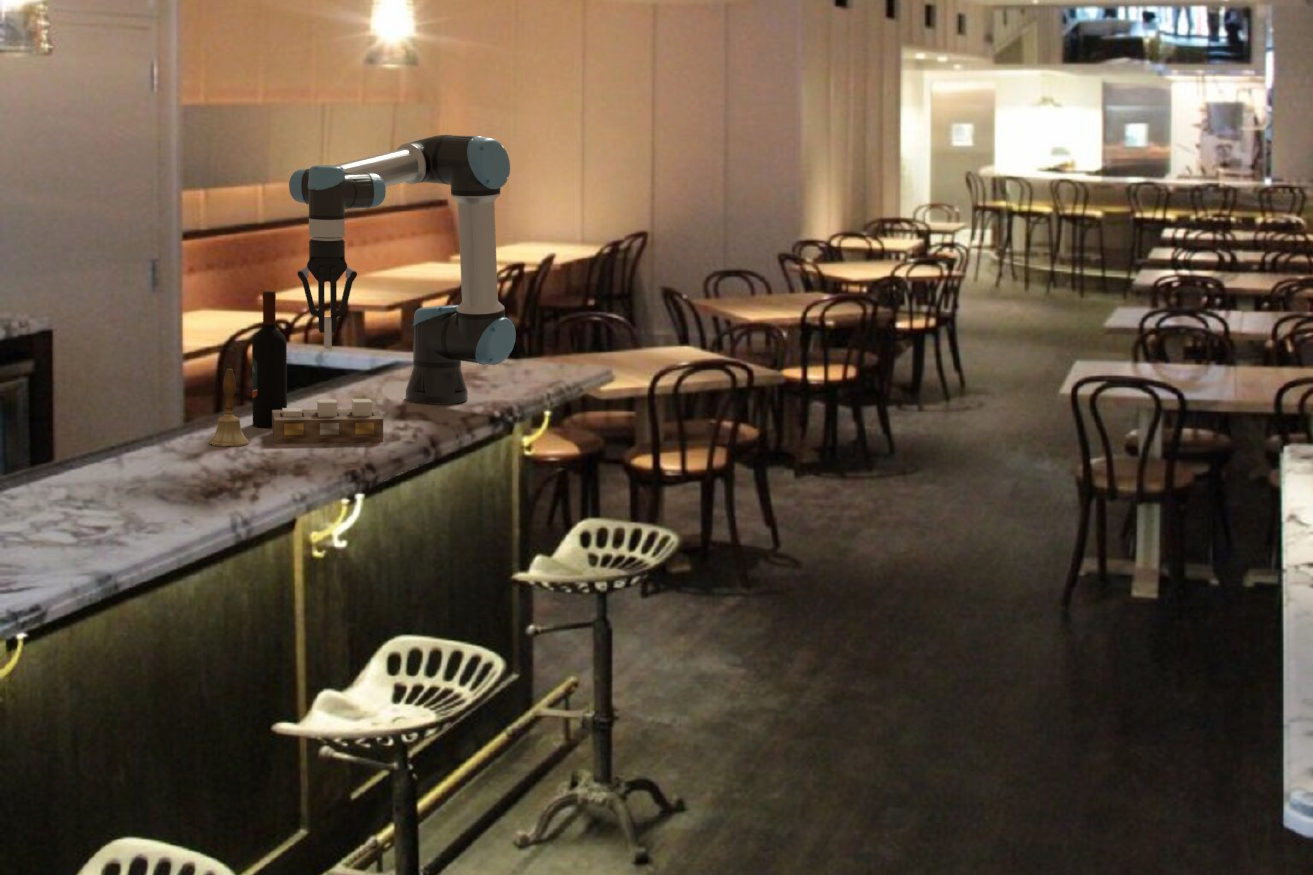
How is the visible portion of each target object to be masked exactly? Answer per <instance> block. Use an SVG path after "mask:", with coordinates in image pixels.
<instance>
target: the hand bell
mask: <svg viewBox="0 0 1313 875" xmlns="http://www.w3.org/2000/svg"><path fill="white" fill-rule="evenodd" d="M222 387H223V393H224V394H223V395H224V397H225V404H224V405H225V406H224V415H222V416H221V417H218V419H217V426H216V427H217V428H216V430H215V433H214V435H213V436H212V437H211V438H210V439H209V441H208V444H209V443H210V445H211V444H212V446H215V445H217V446H216V447H226V446H231V447H242V446H246V445H249V444H250V441H249V439H248V438H247V437H246V435H244V433H243V430H242V427H241V420H240V418H239V417H237V416H236V415H234V396H235V392H236V376H235V374H234V370H233V368H226V370H225V374H224V377H223V380H222Z"/></svg>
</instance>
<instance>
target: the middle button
mask: <svg viewBox="0 0 1313 875" xmlns="http://www.w3.org/2000/svg"><path fill="white" fill-rule="evenodd" d="M316 403H317V404H316V408H317V409H316V410H317V417H335V416H337V409H338V400H337V399H336V398H330V399H329V398H327V399H323V398H321V399H317V400H316Z"/></svg>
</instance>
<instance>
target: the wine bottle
mask: <svg viewBox="0 0 1313 875" xmlns="http://www.w3.org/2000/svg"><path fill="white" fill-rule="evenodd" d="M276 299H277V296H276V291H275V290H274V291H272V290H265V291H262V326H261V328H260V330H258V331H257V332H256V333H255V334H254V335H253V337H252V339H251V340H252V341H251V348H252V349H251V352H252V354H251V357H252V359H251V360H252V361H251V362H252V363H251V367H252V372H251V373H252V374H251V375H252V376H251V377H252V378H251V381H252V384H251V385H252V386H251V387H252V426H253V427H255V428H259V429H260V428H261V429H272V410H282V408H288V397H287V394H288V392H287V391H288V386H287V384H288V379H287V378H288V373H287V372H288V371H287V364H288V362H287V361H288V360H287V359H288V358H287V357H288V355H287V354H288V352H287V351H288V348H287V346H288V343H287V338H286V336H285V334H283V333H282V332H281V331H280V330H279V329H278V328H277V324H276V322H277V321H276V320H277V319H276V310H277V309H276Z"/></svg>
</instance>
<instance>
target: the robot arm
mask: <svg viewBox="0 0 1313 875" xmlns="http://www.w3.org/2000/svg"><path fill="white" fill-rule="evenodd" d="M510 173H511V163H510V157H509V154H508V153H507V150H506V148H505V147H504V145H502V144H501V142H500V141H498V140H497V139H494V138H491V137H485V136H483V135H482V136H478V135H456V134H455V135H454V134H453V135H452V134H441V135H435V136H434V135H433V136H430V137H426V138H422V139H418V140H414V141H411V142H407V143H404V144H401V145H400V146H398V148H397V149H396V150H392V151H388V152H384V153H380V154H376V155H372V156H367V157H363V158H359V159H358V158H357V159H356V160H355V159H354V160H351V161H350V160H349V161H347V162H343V163H339V164H334V165H332V164H331V165H329V164H328V165H327V164H326V165H325V164H324V165H321V164H319V165H312V166H311V167H310V168H305V169H304V168H301V169H296V170H295V171H294V172H293V173H292V174H291V176H290V178H289V181H288V189H289V194H290V196H291V197H292V199H293V200H294V201H295V202H297V203H302V204H305V205H308V236H309V237H310V238H311V239H309V240H308V248H309V249H308V261H307V263H306V266H305V267H304V268H302V269H301V270H300V269H299V270H297V272H296V275H297V277H298V278H299V279H300V281H301V282H302V286H303V290H304V294H305V298H306V302H307V306H308V309H309V313H310V315H311V316H314V317H317V318H318V331H319V333H320V334H321V333H323V347H324V349H325V350H326V349H327V350H328V349H330V350H331V349H332V347H333V346H332V345H333V344H332V338H333V337H332V334H334V333H337V330H338V328H337V327H338V324H337V323H338V322H337V321H338V318H339V317H341V316H344V315H345V314H346V311H347V307H348V304H349V303H348V302H349V299H350V296H351V295H350V294H351V290H352V287H353V282H354V281H355V280H356V278H357V276H358V272H357V271H356V270H355V269H352V268H350V267H349V266H348V263H347V261H346V248H345V247H346V244H345V243H346V242H345V240H344V239H343V238H344V237H345V234H346V233H345V231H346V230H345V229H346V228H345V225H346V224H345V220H346V219H345V216H346V215H345V213H346V212H345V211H346V210H349V209H350V210H351V209H370V208H374V207H378V206H381V204H382V203H383V202H384V201H385V198H386V194H387V191H386V189H387V188H388V187H391V186H395V185H398V184H399V185H400V184H402V183H405V184H408V185H417V184H420V183H429V184H430V183H431V184H439V185H440V184H441V185H448V186H449V185H450V195H451V197H452V198H453V199H454V200H455V201H456V202H457V214H458V233H459V234H458V237H459V238H458V240H459V262H460V264H459V265H460V279H461V280H460V282H461V284H460V285H461V286H460V287H461V302H460V304H451V305H450V304H449V305H434V306H426V307H420V308H417V309H416V310H415V312H414V313H413V314H414V315H413V325H412V333H413V334H412V336H413V338H412V339H413V340H412V343H413V344H412V345H413V346H412V351H413V354H412V359H413V362H412V365H413V366H412V369H411V374H410V377H409V380H408V382H407V386H406V389H405V400H407V401H408V402H412V403H417V404H427V405H428V404H429V405H451V404H460V403H463V402H467V401H468V398H469V397H468V393H469V392H468V388H467V385H466V382H465V378H464V375H463V372H462V362H465V363H466V362H467V363H474V364H478V365H483V366H485V365H487V366H488V365H489V366H495V365H500V364H501V363H503V362H504V361H506V360H507V359H508V358H509V356H510V354H511V353H512V351H513V349H514V346H515V342H516V336H517V334H516V327H515V325H514V323H513V321H512V320H511V319H509V318H508V317H506V313H505V312H506V311H505V309H506V308H505V305H503V304H502V302H500V301H499V295H498V294H499V293H498V292H499V291H498V268H497V240H496V238H497V237H496V213H495V210H496V208H495V201H496V199H498V198H499V196H500V195H501V188H502V187H504V185H506V183H507V182H508V178H509V176H510ZM309 272H310V274H311V275H312V276H313V277H314V279H315V280H316V281H317V289H318V290H317V291H318V292H317V296H318V297H317V298H318V299H317V300H318V302H317V305H318V309H316V308H315V307H316V306H315V304H314V299H313V296H312V291H311V288H310V283H309V280H308V278H309V277H310V275H309ZM344 273H345V278H346V280H345V284H344V288H343V292H342V296H341V300H340V305H339V309H337V308H338V306H337V305H338V304H337V301H338V298H337V297H338V296H337V290H338V289H337V288H338V285H337V282H338V281H339V280H340V278H341V277H342V276H343V274H344ZM326 282H329V287H330V288H329V290H330V292H329V294H330V296H329V297H330V301H329V302H330V304H329V305H330V316H326V314H325V311H326V309H325V283H326Z"/></svg>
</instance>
